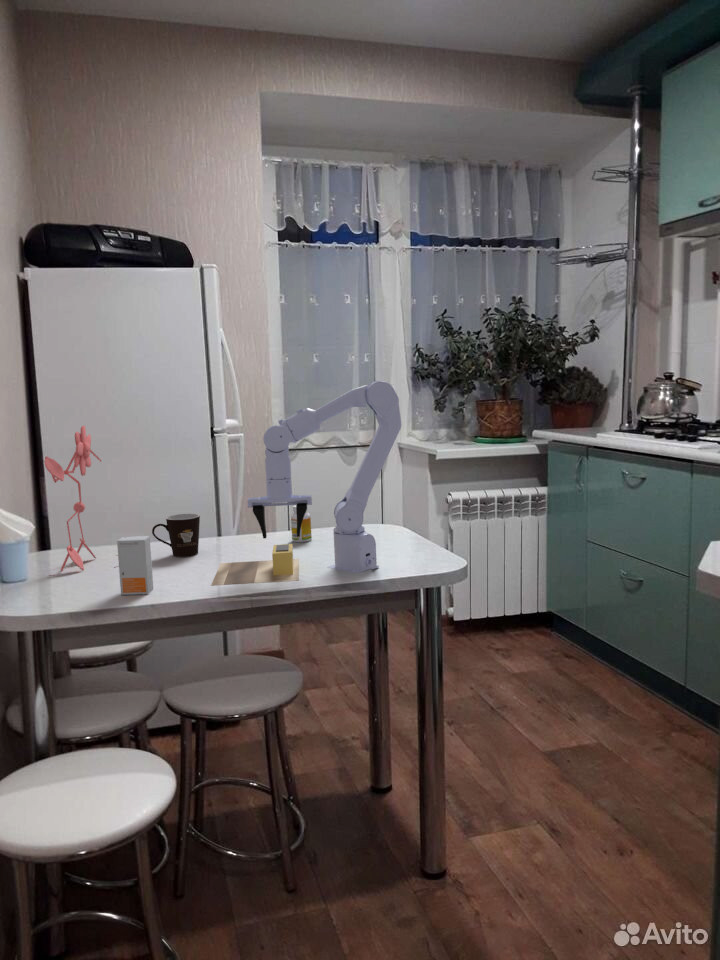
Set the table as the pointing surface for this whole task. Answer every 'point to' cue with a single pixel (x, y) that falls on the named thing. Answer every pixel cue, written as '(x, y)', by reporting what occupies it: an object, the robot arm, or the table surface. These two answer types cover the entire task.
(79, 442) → the figurine
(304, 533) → the supplement bottle
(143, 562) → the skincare box
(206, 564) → the table surface
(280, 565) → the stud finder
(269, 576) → the subfloor board
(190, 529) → the coffee mug
